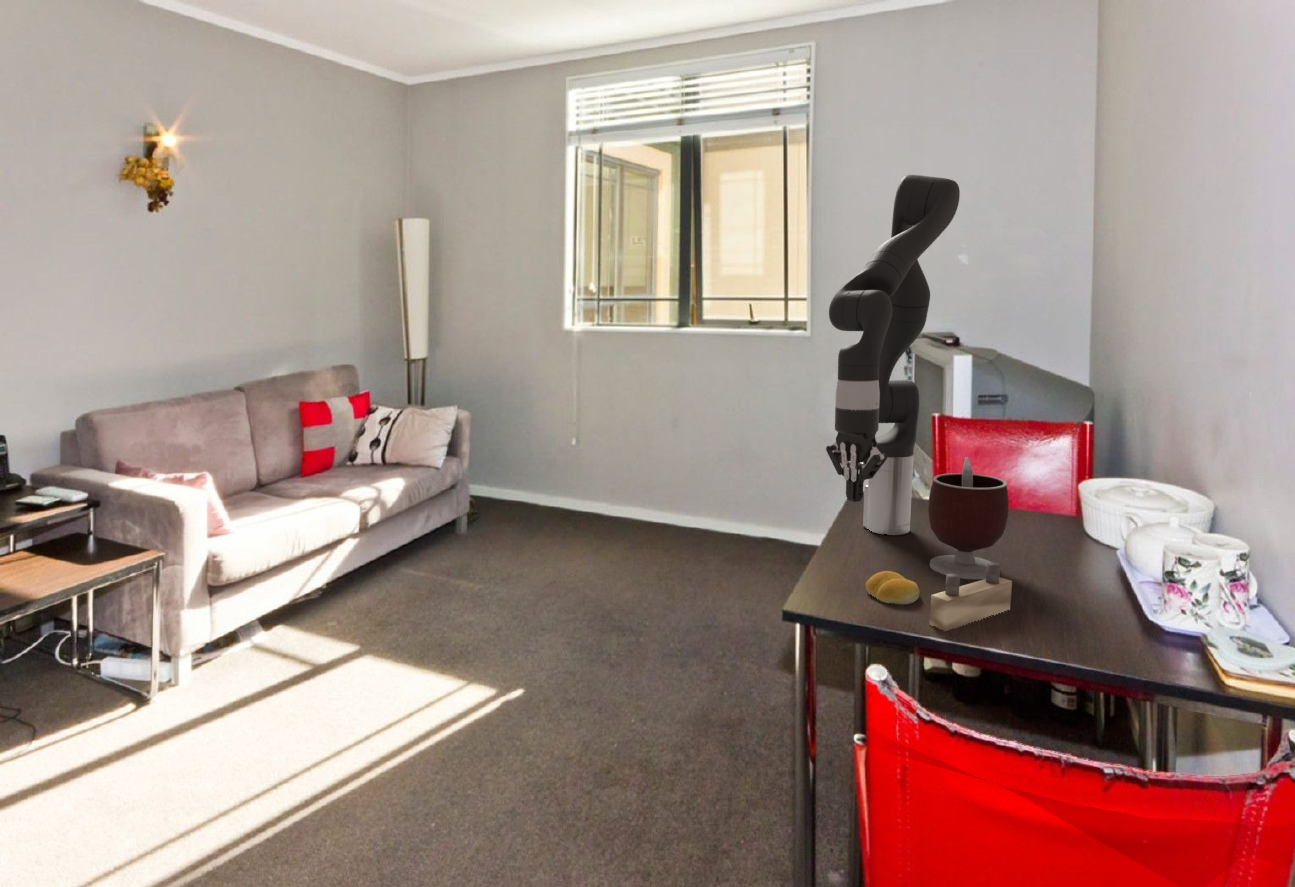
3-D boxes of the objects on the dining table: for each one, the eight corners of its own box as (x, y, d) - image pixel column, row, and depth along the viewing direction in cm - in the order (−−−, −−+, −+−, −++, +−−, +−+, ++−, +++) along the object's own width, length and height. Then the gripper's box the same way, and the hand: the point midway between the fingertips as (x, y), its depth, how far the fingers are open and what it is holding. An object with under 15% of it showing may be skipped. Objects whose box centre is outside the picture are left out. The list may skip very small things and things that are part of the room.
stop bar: (929, 625, 124) (932, 576, 123) (993, 604, 133) (996, 558, 131) (945, 631, 122) (948, 582, 121) (1010, 610, 130) (1013, 563, 129)
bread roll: (890, 609, 132) (891, 586, 131) (858, 591, 140) (859, 569, 139) (930, 602, 134) (932, 580, 134) (897, 585, 143) (898, 563, 142)
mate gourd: (1008, 584, 142) (1016, 475, 139) (926, 576, 146) (932, 470, 143) (998, 557, 157) (1005, 458, 153) (923, 551, 161) (929, 454, 157)
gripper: (901, 407, 136) (897, 505, 139) (845, 400, 147) (842, 491, 150) (870, 410, 132) (867, 511, 135) (815, 403, 143) (812, 496, 146)
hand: (854, 500), depth 143 cm, fingers closed
